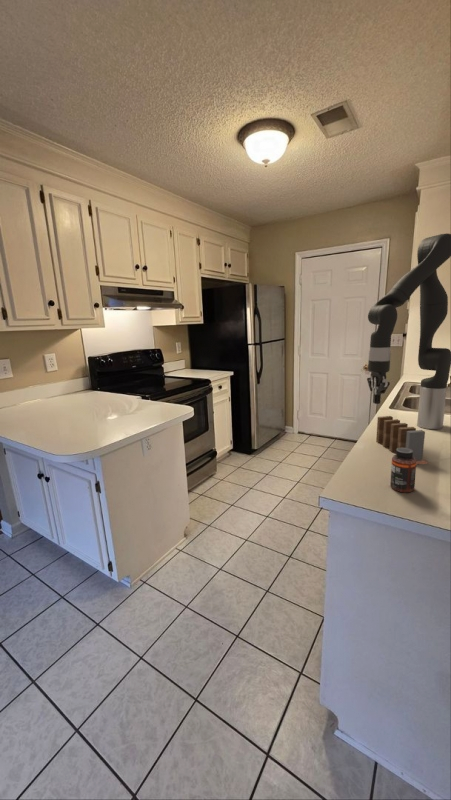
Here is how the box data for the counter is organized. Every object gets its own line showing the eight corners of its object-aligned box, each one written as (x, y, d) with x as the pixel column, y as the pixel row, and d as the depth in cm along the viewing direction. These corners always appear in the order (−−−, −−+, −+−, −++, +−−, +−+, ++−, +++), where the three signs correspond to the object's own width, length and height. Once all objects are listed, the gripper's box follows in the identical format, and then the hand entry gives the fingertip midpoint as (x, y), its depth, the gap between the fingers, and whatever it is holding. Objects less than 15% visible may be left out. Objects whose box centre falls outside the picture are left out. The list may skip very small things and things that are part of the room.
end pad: (399, 458, 109) (399, 457, 109) (417, 457, 110) (417, 456, 110) (408, 465, 105) (408, 464, 105) (427, 463, 105) (427, 462, 105)
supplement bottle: (413, 484, 92) (416, 447, 90) (415, 495, 87) (418, 455, 84) (389, 481, 95) (392, 445, 92) (390, 491, 89) (392, 452, 87)
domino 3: (389, 450, 117) (391, 423, 114) (402, 449, 117) (404, 422, 115) (391, 452, 115) (393, 425, 113) (405, 451, 115) (407, 424, 113)
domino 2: (382, 446, 121) (384, 420, 119) (395, 445, 121) (397, 419, 119) (384, 447, 119) (386, 421, 117) (398, 446, 120) (400, 420, 117)
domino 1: (376, 441, 125) (377, 416, 123) (388, 440, 126) (390, 415, 123) (378, 443, 124) (379, 418, 122) (391, 442, 124) (392, 417, 122)
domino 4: (396, 455, 112) (398, 427, 110) (410, 454, 112) (413, 426, 110) (399, 457, 111) (401, 429, 108) (413, 456, 111) (416, 428, 109)
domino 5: (422, 460, 106) (425, 431, 104) (407, 461, 106) (409, 432, 104) (419, 458, 108) (421, 430, 106) (404, 459, 108) (406, 431, 105)
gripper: (399, 360, 118) (395, 406, 122) (379, 357, 131) (376, 399, 135) (378, 361, 118) (375, 407, 122) (361, 358, 131) (359, 400, 134)
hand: (376, 403), depth 128 cm, fingers closed
